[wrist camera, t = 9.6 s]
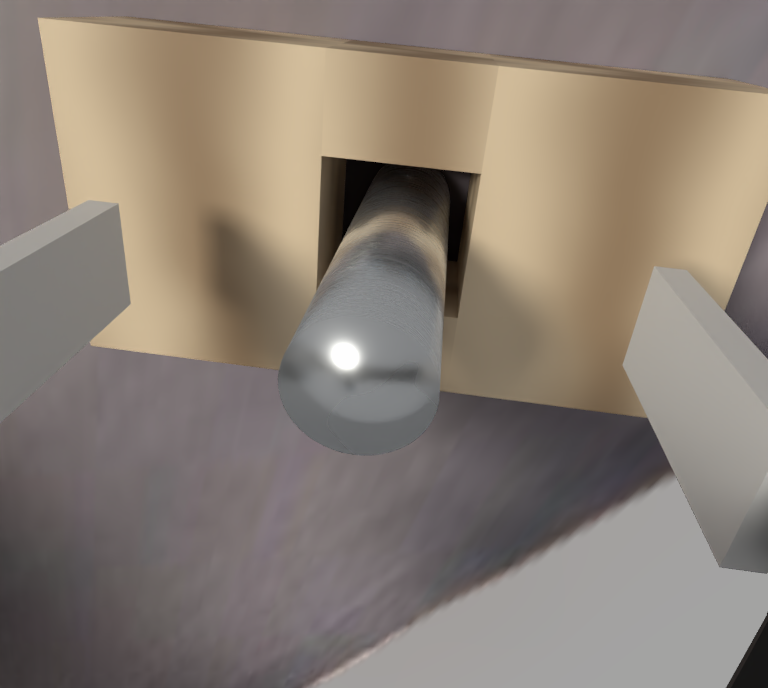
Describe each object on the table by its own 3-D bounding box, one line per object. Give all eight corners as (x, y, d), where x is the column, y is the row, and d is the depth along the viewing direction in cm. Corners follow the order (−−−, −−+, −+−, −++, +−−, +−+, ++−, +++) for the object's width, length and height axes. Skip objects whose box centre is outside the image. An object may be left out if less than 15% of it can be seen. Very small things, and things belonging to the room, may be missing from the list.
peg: (365, 232, 23) (276, 443, 12) (372, 152, 22) (279, 307, 11) (443, 242, 23) (428, 465, 12) (456, 162, 22) (451, 330, 11)
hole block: (153, 288, 26) (90, 345, 21) (125, 16, 21) (37, 17, 16) (640, 349, 25) (680, 422, 20) (730, 79, 20) (808, 98, 15)
